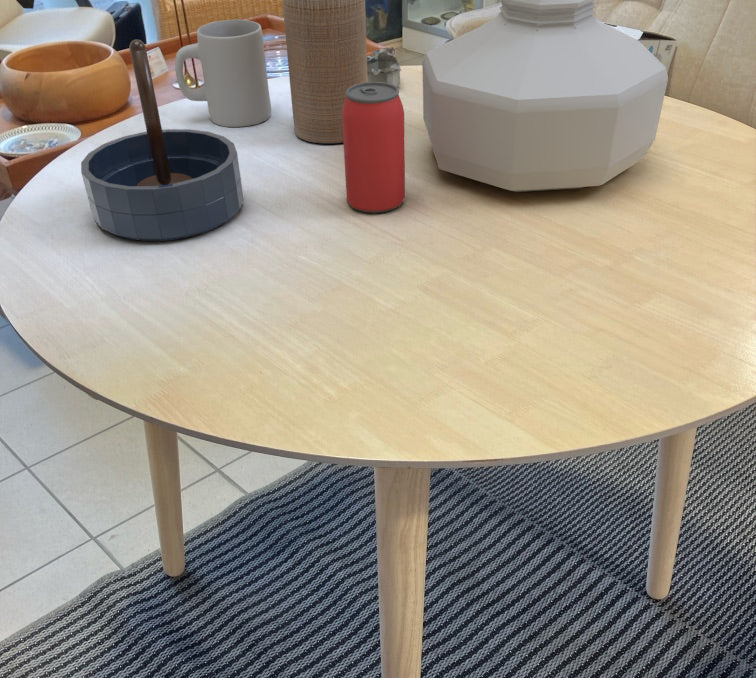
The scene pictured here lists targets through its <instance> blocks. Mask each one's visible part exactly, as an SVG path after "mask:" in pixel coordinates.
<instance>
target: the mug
mask: <svg viewBox="0 0 756 678" xmlns="http://www.w3.org/2000/svg"><path fill="white" fill-rule="evenodd" d="M263 36H264V35H263V29H262V26H261V24H260V23H258V22H257V21H253V20H248V19H224V20H216V21H212V22H208V23H206V24H203V25H201V26H199V27H198V28H197V30H196V38H197V39H196V40H197V42H195V43H192V44H191V43H190V44H188V45H184V46H182V47H181V48H180V49H178V51H177V52H176V55H175V60H174V61H175V62H174V70H175V78H176V82H177V84H178V87H179V90H180V92H181V93H182V95H183V97H185V98H186V99H187V100H189V101H193V102H207V108H208V109H207V110H208V115H209V116H208V117H209V119H210V122H212V123H213V124H215V125H218V126H219V127H227V128H244V127H251V126H255V125H258V124H262V123H264V122H265V121H268V119H269V118H270V117H271V115H272V104H271V97H270V89H269V88H270V87H269V82H268V81H269V80H268V72H267V64H266V63H267V61H266V54H265V45H264V37H263ZM188 59H196V60H198V61H200V64H201V71H202V76H203V85H201V87H198V88H197V87H196V88H191V87H189V85H187V82H186V80H185V77H184V64H185V62H186V61H187V60H188Z"/></svg>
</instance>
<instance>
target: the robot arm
mask: <svg viewBox="0 0 756 678" xmlns="http://www.w3.org/2000/svg"><path fill="white" fill-rule="evenodd" d="M15 1H16V2H17V3H18V4H19V5H20V6H21V7H22V9H26V10H27V9H28V10H30V9H31V10H33V9H34V7H35V0H15Z"/></svg>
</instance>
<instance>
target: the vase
mask: <svg viewBox="0 0 756 678" xmlns="http://www.w3.org/2000/svg"><path fill="white" fill-rule="evenodd" d="M281 3H282V13H283V24H284V35H285V44H286V55H287V56H286V57H287V66H288V67H287V68H288V78H289V88H290V89H289V90H290V97H291V98H290V99H291V100H290V101H291V110H292V111H291V112H292V119H293V120H292V121H293V130H294V133H295V135H296V137H298V139H300V140H302V141H304V142H308V143H313V144H318V145H338V144H344V141H343V124H342V110H343V105H344V101H345V98H346V90H347V89H348V88H349V87H351V86H353V85H356V84H359V83H365V82H368V76H367V56H368V50H367V47H368V46H367V18H366V0H281Z"/></svg>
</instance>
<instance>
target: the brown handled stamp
mask: <svg viewBox="0 0 756 678" xmlns="http://www.w3.org/2000/svg"><path fill="white" fill-rule="evenodd" d="M128 49H129V53H130V58H131V63H132V66H133V67H132V68H133V72H134V77H135V83H136V87H137V92H138V96H139V101H140V105H141V106H140V107H141V110H142V111H141V112H142V115H143V120H144V125H145V130H146V132H147V135H148V140H149V145H150V149H151V154H152V159H153V164H154V168H155V173H156V175H154V176H151V177H148V178H146V179H144V180H142V181H141V182H139V183H138V185H137V186H160V185H168V184H175V183H179V182H183V181H187V180H190V179H193V178H191V177H190V176H188V175H185V174H179V173H170V168H169V163H168V158H167V153H166V148H165V142H164V137H163V132H162V130H163V127H162V124H161V123H162V121H161V118H160V111H159V107H158V103H157V102H158V101H157V97H156V92H155V88H154V87H155V86H154V82H153V76H152V72H151V65H150V61H149V55H148V52H147V47H146V44H145V42H143V41H142V40H141V39H133V40H131V42H130V43H129V48H128Z"/></svg>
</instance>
